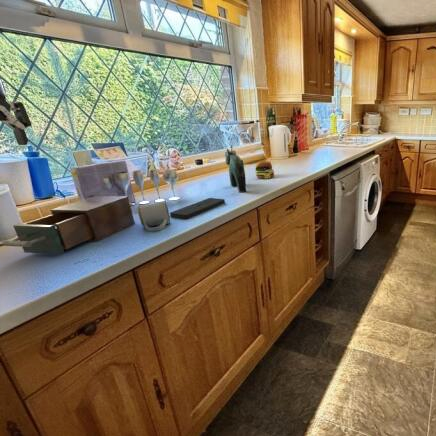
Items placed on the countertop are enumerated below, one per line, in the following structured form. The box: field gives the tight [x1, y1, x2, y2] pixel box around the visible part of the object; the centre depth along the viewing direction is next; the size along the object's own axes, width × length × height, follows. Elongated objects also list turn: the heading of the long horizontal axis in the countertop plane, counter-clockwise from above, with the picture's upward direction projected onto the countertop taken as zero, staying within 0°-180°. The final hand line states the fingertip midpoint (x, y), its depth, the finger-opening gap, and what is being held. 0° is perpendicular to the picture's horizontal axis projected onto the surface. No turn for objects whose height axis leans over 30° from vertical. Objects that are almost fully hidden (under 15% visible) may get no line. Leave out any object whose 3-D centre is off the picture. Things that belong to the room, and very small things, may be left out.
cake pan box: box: [69, 159, 137, 203], centre depth 118 cm, size 19×5×18 cm, turn 155°
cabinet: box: [50, 196, 136, 243], centre depth 94 cm, size 15×13×10 cm
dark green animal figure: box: [224, 144, 247, 193], centre depth 141 cm, size 20×6×20 cm, turn 28°
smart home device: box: [169, 197, 226, 220], centre depth 114 cm, size 8×2×20 cm
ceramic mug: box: [137, 200, 172, 232], centre depth 97 cm, size 11×8×8 cm
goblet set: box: [103, 168, 182, 207], centre depth 123 cm, size 28×6×13 cm, turn 117°
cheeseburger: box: [255, 160, 275, 180], centre depth 164 cm, size 10×11×10 cm
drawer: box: [1, 212, 94, 256], centre depth 82 cm, size 18×11×8 cm, turn 170°
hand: (3, 147), depth 74 cm, fingers open, 8 cm apart
